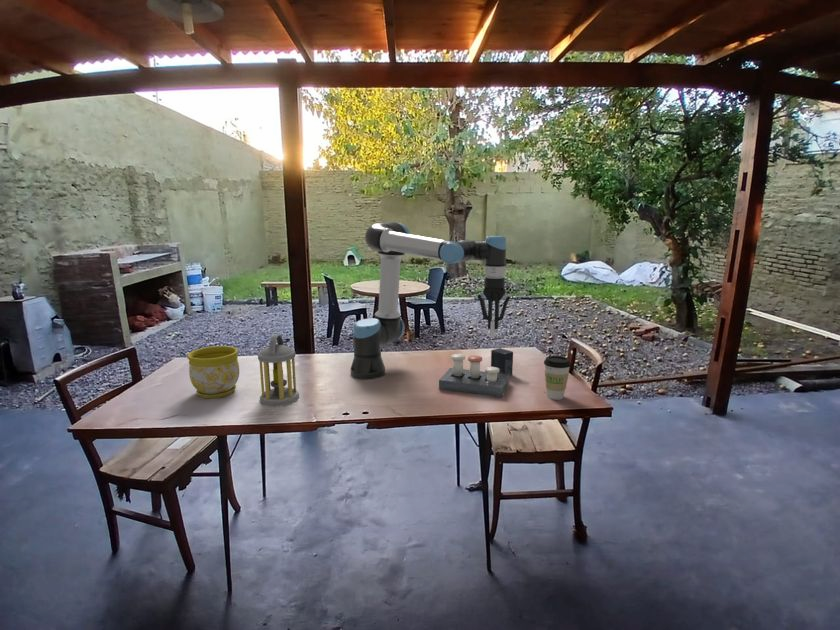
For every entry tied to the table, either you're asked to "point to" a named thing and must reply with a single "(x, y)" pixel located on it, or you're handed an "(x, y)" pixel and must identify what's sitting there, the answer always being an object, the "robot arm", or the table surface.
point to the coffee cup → (556, 376)
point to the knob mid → (475, 366)
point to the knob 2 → (492, 373)
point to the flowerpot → (214, 370)
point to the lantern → (277, 373)
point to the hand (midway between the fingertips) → (492, 337)
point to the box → (502, 360)
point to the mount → (474, 383)
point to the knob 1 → (458, 364)
